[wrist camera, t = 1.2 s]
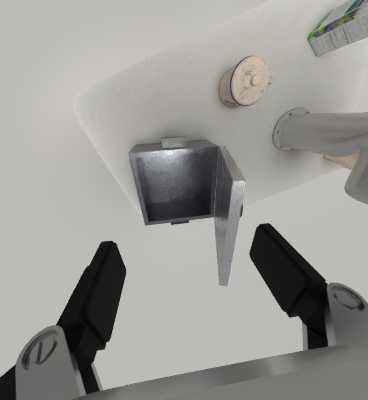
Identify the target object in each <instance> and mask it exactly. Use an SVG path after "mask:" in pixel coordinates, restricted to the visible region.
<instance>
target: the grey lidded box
mask: <svg viewBox="0 0 368 400" xmlns="http://www.w3.org/2000/svg"><path fill="white" fill-rule="evenodd" d="M218 148H219V146H217V145H215V144H213V143H211V142H209V141H207V140H196V141H186V137H171V138H161V143H154V144H140V145H135V146H134V148H133V149H132V150H131V151H130V152H129V153H128V154H129V159H130V163H131V167H132V171H133V176H134V180H135V184H136V188H137V193H138V197H139V201H140V205H141V210H142V214H143V218H144V222H145V225H153V224H161V223H170V222H171V225H173V224H182V223H189V220H195V219H203V218H211V217H214V206H215V191H216V177H217V162H218Z"/></svg>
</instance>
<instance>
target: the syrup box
mask: <svg viewBox="0 0 368 400" xmlns="http://www.w3.org/2000/svg"><path fill="white" fill-rule="evenodd" d="M366 37H368V0H349V1H348V2H346V3H344V4H343V5H341V6H339V7H338V8H336V9H335V10H333V11H331V12H330V13H328V14H327V15H326V16H325V17H324V18H323V20H322V21H321V22H320V23H319V24H318V26H317V27H316V28H315V29H314V31H313V32H312V33H311V34H310V36H309V37H308V40H309V42H310V44H311V46H312V48H313V50H314V52H315V54H316V55H317V56H319V55H321V54H324V53H327V52H329V51H332V50H335V49H337V48H340V47H343V46H345V45H348V44H350V43H353V42H356V41H359V40H361V39H364V38H366Z"/></svg>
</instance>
